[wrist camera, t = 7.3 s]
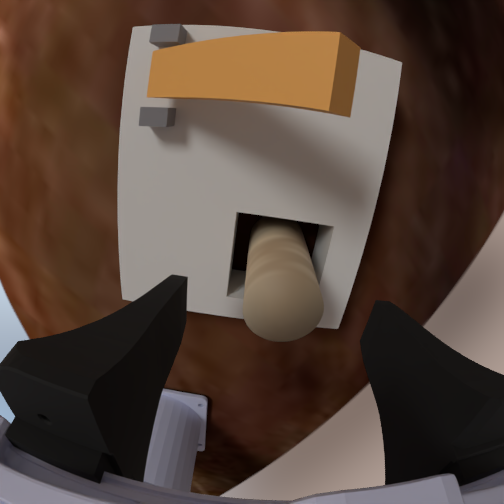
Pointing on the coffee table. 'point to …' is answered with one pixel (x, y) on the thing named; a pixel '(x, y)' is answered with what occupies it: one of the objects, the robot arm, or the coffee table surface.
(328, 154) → the white flat block
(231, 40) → the latch
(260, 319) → the peg
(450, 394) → the robot arm
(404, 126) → the coffee table surface
